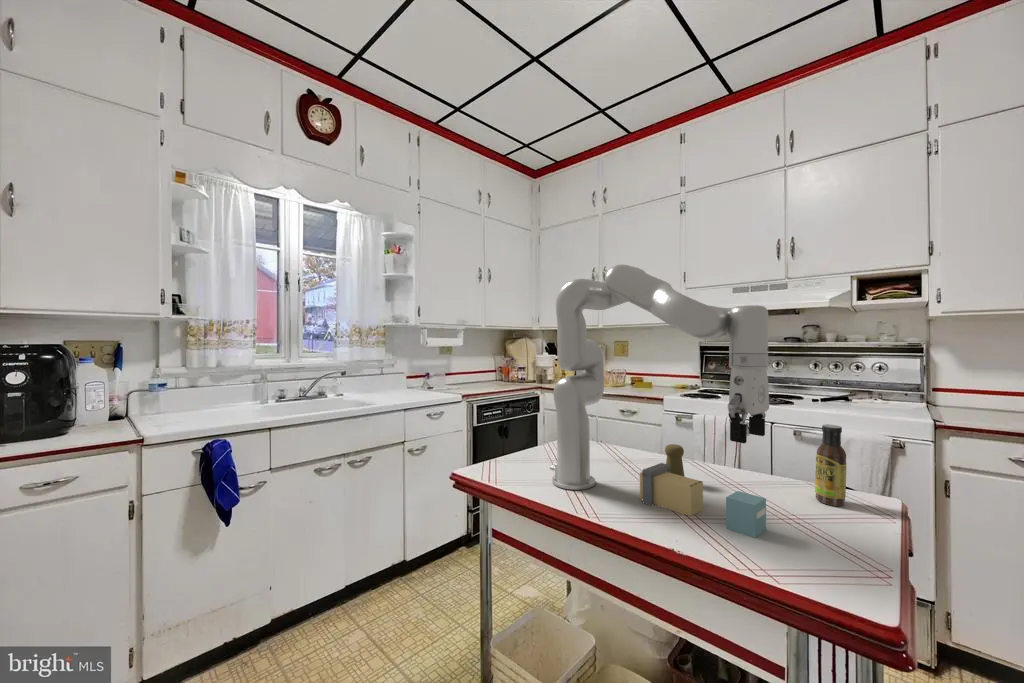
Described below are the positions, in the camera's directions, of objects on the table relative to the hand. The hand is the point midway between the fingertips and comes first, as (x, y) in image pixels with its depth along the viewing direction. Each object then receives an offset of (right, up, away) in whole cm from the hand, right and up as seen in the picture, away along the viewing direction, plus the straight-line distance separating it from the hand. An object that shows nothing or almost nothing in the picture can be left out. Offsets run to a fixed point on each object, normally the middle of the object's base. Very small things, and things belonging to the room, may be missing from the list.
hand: (747, 438), depth 93 cm
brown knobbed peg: (-4, -20, +31) cm, 37 cm away
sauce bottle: (+29, -20, +15) cm, 39 cm away
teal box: (0, -20, 0) cm, 20 cm away
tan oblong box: (-12, -20, +15) cm, 28 cm away
